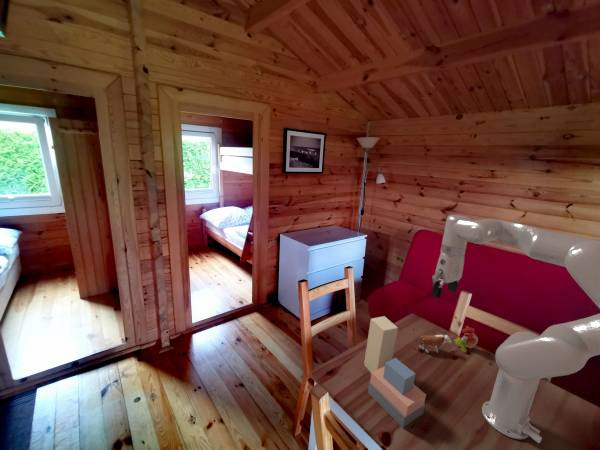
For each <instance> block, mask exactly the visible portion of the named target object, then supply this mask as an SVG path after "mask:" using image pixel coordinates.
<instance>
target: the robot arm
mask: <svg viewBox="0 0 600 450" xmlns="http://www.w3.org/2000/svg"><path fill="white" fill-rule="evenodd" d="M443 231H444V232H443V235H442V241H441V247H440V251H439V252H440V254H439V258H438V260H437V264H436V268H435V272H434V274H433V275H432V277H431V279H432V290H431V296H434V297H435V298H438V299H440V298H441V297H442V293H443V285H444V284H447V287H446V289H447V290H448V291H450V292H453V293H457V289H458V285H459V283H460V280H461V279H462V277H463V271H464V265H465V255H466V250H467V245H468V242H470V243H473V244H477V245H483V244H486V243H489V242H492V241H493V242H497V243H502V244H504V245H509V246H512V247H514V248H518V249H519V250H521V251H523V253H524V254H525V255H526V256H527V257H529V258H531V259H533V260H538V261H540V262H541V261H542V262H544V263H549V264H553V265H555V266H560V267H564V268H566V270H567V272H568V273H569V274H570V275H571V278H573V280H574V281H575V282H576V283H577V284H578V286H579V287H580V288H581V289H582V290H583V291H584V293H585V294H586V295H587V296H588V297H589V298H590V299H591V301H592V302H593V303H594V305H596V307H597V308H598V309H599V310H600V240H595V239H591V238H586V237H581V236H575V235H570V234H564V233H561V232H555V231H550V230H545V229H541V228H538V227H534V226H529V225H526V224H522V223H518V222H513V221H508V220H503V219H497V218H482V219H475V220H472V219H471V218H470V217H468V216H466V215H460V214H450V215H447V218H446V219H445V225H444V230H443ZM494 356H495V362H496V364H497V366H498V372H497V376H496V378H495V382H494V385H493V390H492V393H491V397H490V400H487V401H485V402H484V403H483V404H482V406H481V413H482V415H483V417H484V419H485V420H486V421H487V423H488V424H489V425H490V426H491V427H492V428H494V429H495V430H497V431H498V432H499V433H501V434H503V435H504V436H507V437H509V438H511V439H515V440H525V439H527V438H529V437H530V438H531V439H532V440H534V441H535V442H536V443H538V445H539V444H540V443H541V442H542V440H543V437H542V436H541V435H540V433H541V430H539V429H538V428H536V427H535V426H533V425H532V423H530V421H531V417H530V416H529V413H530V411H531V408H532V405H533V401H534V398H535V395H536V393H537V389H538V387H539V383H540V380H541V379H546V378H547V379H548V378H556V377H562V376H569V375H572V374H575V373H577V372H578V371H580V370H582V368H584V367H585V365H586V364H587V362H588V360H589V359H590V358H592V357H595V356H600V313H597V314H594V315H591V316H588V317H584V318H580V319H576V320H573V321H568V322H567V321H566V322H564V323H563V322H562V323H557V324H553V325H550V326H548V327H547V328H546V329H545V330H544V331H542V333H541V334H540V335H537V334H535V333H533V332H531V331H523V330H522V331H516V332H514V333H513V334H511V335H510V336H508V337H507V339H505V340H504V342H502V343H501V344H500V345H499V346H498V347H497V349H496V350H495V355H494Z"/></svg>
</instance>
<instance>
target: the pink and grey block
mask: <svg viewBox="0 0 600 450" xmlns="http://www.w3.org/2000/svg"><path fill="white" fill-rule="evenodd" d="M384 369H385V366H384V367H382V368H380V369H378V370H376V371H374V372H372V373H370V381H369V382H368V386H367V387H368V388H367V393H368V394H369V395H370V396H371V397H372V398H373V399H374V400H375V401H376V402H377V403H378V405H380V406H381V408H382V409H383V410H385V412H386V413H387V414H388V415H389V416H390V417H391V418H392V419H393V420H394V421H395V422H396V423H397V424H398V425H399V426H400V427H401V428H402V429H403V428H405V427H406V426H408V425H410V423H412V422H414V421H415V420H417V419H418V418H420V417H421V416H422V415H423V414H424V410H425V405H426V404H425V401H426V397H427V394H426V393H425V392H423V390H421V389H420V388H419V387H418V386H416V385H415V383H414V384H413V389H412V390H410V391H408V392H407V393H405V394H404V395H402V394H401V393H400V392H398V391H397V390H396V389H395V388H394V387H393V386H392V385H391V384H390V383H389V382H388V381H386V380H385V379H384V378H383V375H384Z"/></svg>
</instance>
